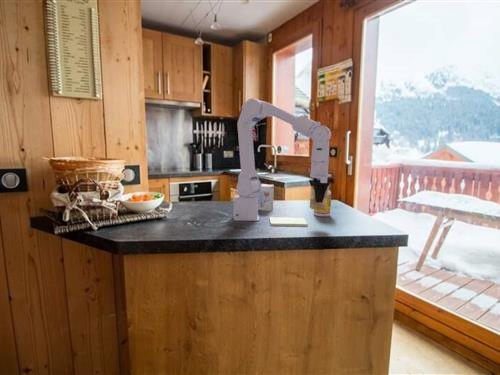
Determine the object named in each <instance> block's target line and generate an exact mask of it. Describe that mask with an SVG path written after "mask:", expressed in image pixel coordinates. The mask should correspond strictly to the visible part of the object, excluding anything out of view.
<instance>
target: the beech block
mask: <svg viewBox="0 0 500 375" xmlns="http://www.w3.org/2000/svg"><path fill="white" fill-rule="evenodd" d="M328 190H329V188H327V190H326V192H325V195H324V199H323V202H322V203H321V202H316V200H315V191H314V187H313V186H311V185H310V195H309V196H310V197H309V208H310V209H311V210H314V209H324V210H326V207H327V193H328Z"/></svg>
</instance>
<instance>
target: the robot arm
mask: <svg viewBox="0 0 500 375" xmlns="http://www.w3.org/2000/svg"><path fill="white" fill-rule="evenodd" d="M267 117H268V118H269V117H274V118H277V119H279V120H280V121H283V122H285V123H288V124H290V126H291V127H292V130H293V131H295V132H296V133H299V134H301V135H303V136H305V137H307V138H308V139H311V140H312V148H311V162H310V163H311V164H310V174H309V177H310V178H311V179H309V180H308V182H309V184H310V187H311V186H313V187H314V191H315V200H316V202H321V203H322V202H323V199H324V195H325V192H326V190H327V188H328V186H329V187H330V184H331V183H330V182H328V179H329V178H332V174H329V163H330V161H329V160H330V139H331V138H332V131H331V129H330V128H329V127H327V125H321V122H320V121H315V120H313V119H311V118H309V116H308V115H307V114H299V115H293V114H292V113H290V112H288V111H287V110H285V109H283V108H281V107H279V106H277V105H275V104H272V103H270V102H267V101H263V100H259V99H257V98H254V97H251V98H249V99H247V100H245V102H244V103H243V104H242V106H241V113H240V115H239V118H238V120H237V123H236V124H237V134H238V135H237V137H238V149H239V150H238V151H239V162H240V173H239V174H238V176H237V177H238V178H237V179H238V180H237V184H236V191H237V193H238V194H239V195H234V196H233V211H232V212H233V213H232V215H233V221H240V222H241V221H243V222H244V221H248V222H249V221H251V222H252V221H254V222H257V221H258V222H259V221H260V216H259V210H258V191H259V190H260V188H261V184H262V183H261V180H260V179H259V174H258V172H257V171H256V166H255V165H256V163H255V153H254V152H255V151H254V150H255V149H254V139H253V127H254V126H255V125H256V124H257V123H258V122H260V121H261V120H263V119H265V118H267ZM328 189H329V188H328Z"/></svg>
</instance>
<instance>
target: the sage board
mask: <svg viewBox="0 0 500 375" xmlns="http://www.w3.org/2000/svg"><path fill="white" fill-rule="evenodd" d="M269 224H270V226H271V227H308V225H309V224H308V222H307V221H306V219H305V218H304V217H287V216H286V217H283V216H281V217H279V216H278V217H275V216H270V217H269Z"/></svg>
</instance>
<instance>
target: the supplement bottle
mask: <svg viewBox="0 0 500 375" xmlns="http://www.w3.org/2000/svg"><path fill="white" fill-rule="evenodd" d="M329 188H330V185H329V186H328V193H327V207H326V210H324V209H313V215H314V216H317V217H329V216H330V215H331V205H332V204H331V203H332V192H331V190H329Z"/></svg>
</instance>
